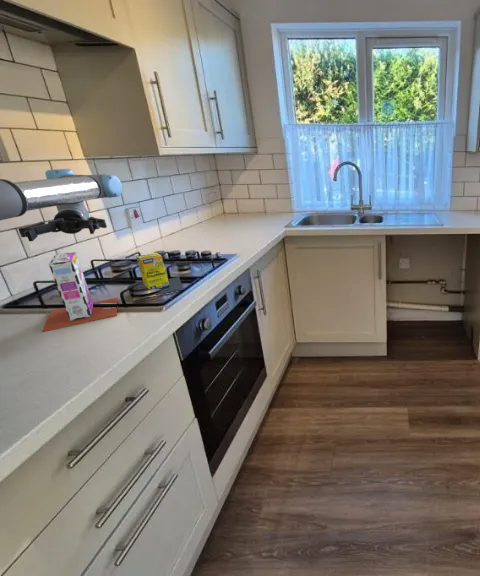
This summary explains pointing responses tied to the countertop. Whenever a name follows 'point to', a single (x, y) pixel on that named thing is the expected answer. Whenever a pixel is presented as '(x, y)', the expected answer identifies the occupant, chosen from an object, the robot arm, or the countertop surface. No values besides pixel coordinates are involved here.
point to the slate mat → (172, 286)
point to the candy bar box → (72, 285)
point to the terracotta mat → (61, 319)
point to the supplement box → (153, 271)
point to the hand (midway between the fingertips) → (60, 232)
